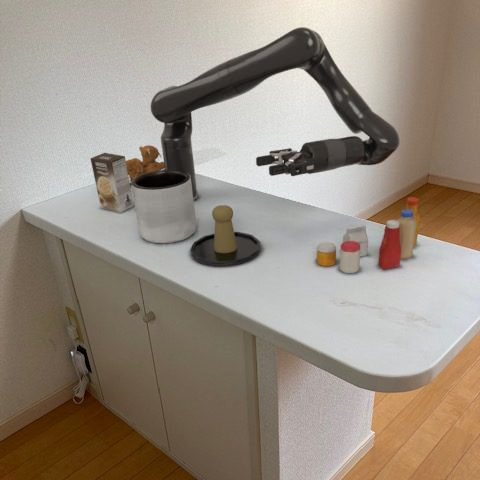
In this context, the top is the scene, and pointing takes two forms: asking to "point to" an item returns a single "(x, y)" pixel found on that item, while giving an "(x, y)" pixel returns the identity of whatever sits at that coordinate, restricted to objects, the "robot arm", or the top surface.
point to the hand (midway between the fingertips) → (262, 166)
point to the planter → (164, 206)
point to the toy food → (392, 247)
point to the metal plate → (208, 256)
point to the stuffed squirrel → (144, 162)
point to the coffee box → (112, 182)
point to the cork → (224, 229)
